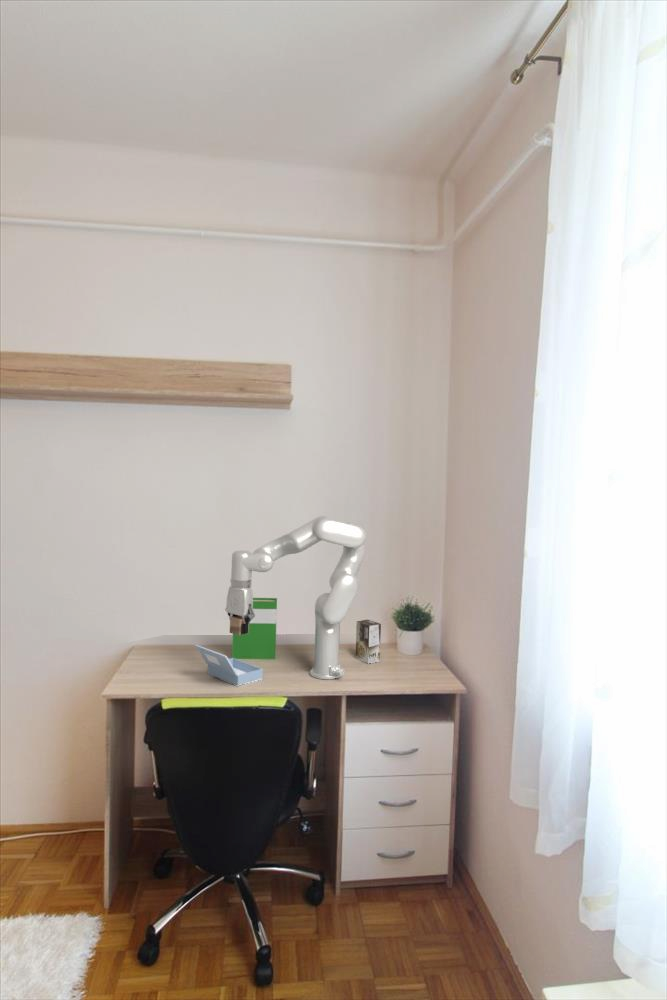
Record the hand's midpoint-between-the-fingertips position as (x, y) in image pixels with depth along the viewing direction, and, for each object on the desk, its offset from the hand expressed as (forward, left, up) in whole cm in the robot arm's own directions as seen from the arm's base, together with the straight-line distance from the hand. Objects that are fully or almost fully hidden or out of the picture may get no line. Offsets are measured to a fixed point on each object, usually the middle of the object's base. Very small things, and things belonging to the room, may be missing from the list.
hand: (239, 631), depth 251 cm
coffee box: (-18, -54, -18) cm, 60 cm away
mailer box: (+2, 0, -18) cm, 18 cm away
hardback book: (+17, -22, -18) cm, 33 cm away
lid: (+2, +9, -9) cm, 13 cm away
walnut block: (0, 0, -1) cm, 1 cm away
